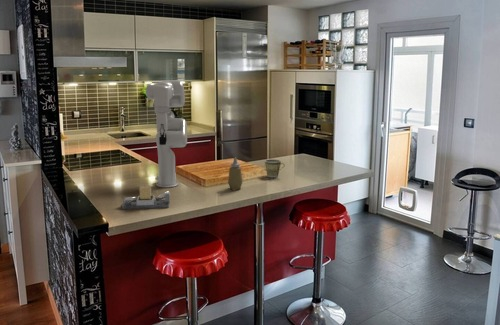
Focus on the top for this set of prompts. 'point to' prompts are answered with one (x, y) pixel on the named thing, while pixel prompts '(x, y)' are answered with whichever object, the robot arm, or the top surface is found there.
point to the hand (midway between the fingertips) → (163, 143)
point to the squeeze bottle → (235, 176)
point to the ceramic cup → (273, 167)
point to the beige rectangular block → (145, 193)
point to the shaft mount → (147, 202)
